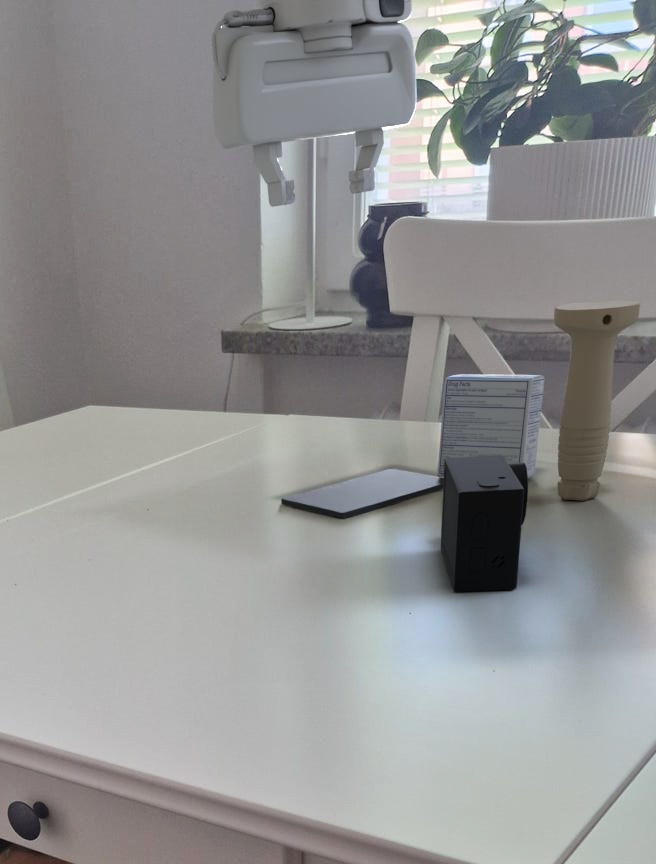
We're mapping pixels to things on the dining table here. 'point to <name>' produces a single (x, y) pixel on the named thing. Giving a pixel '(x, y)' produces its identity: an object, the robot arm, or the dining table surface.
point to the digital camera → (483, 521)
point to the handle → (588, 391)
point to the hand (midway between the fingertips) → (323, 198)
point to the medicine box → (491, 417)
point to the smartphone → (365, 493)
